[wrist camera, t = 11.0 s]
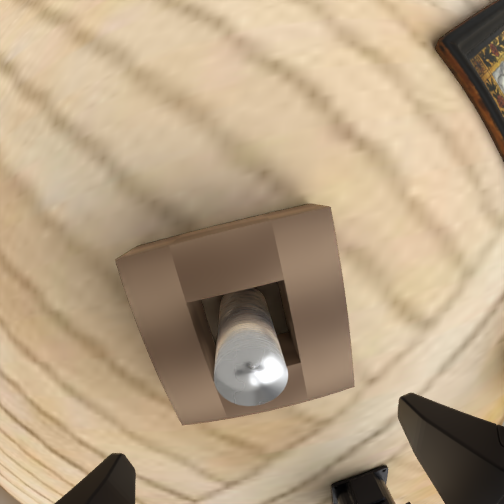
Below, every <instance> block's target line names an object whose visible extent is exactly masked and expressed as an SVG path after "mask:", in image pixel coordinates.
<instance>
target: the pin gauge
mask: <svg viewBox="0 0 504 504" xmlns="http://www.w3.org/2000/svg"><path fill="white" fill-rule="evenodd" d="M287 381H288V370H287V367H286V364H285V360H284V357H283V354H282V351H281V348H280V345H279V341H278V338H277V335H276V332H275V329H274V325H273V322H272V319H271V316H270V313H269V309H268V306H267V303H266V300H265V298H264V296H263V294H262V293H261V292H260V291H259V290H257V289H256V288H254V287H253V288H249V289H245V290H240V291H236V292H232V293H228V294H224V296H223V298H222V300H221V303H220V312H219V322H218V333H217V345H216V357H215V369H214V383H215V386H216V389H217V390H218V392H219V393H220V394H221V395H222V396H223V397H224V398H225V399H227V400H228V401H230V402H232V403H235V404H238V405H242V406H257V405H262V404H265V403H267V402H269V401H271V400H273V399H275V398H276V397H277V396H278V395H279V394H280V393H281V392H282V391H283V390H284V388H285V386H286V384H287Z"/></svg>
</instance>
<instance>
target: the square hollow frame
mask: <svg viewBox="0 0 504 504" xmlns="http://www.w3.org/2000/svg"><path fill="white" fill-rule="evenodd" d="M115 261H116V265H117V268H118V271H119V274H120V277H121V280H122V284H123V287H124V290H125V293H126V295H127V298H128V301H129V304H130V307H131V310H132V312H133V315H134V318H135V321H136V323H137V326H138V328H139V331H140V334H141V336H142V339H143V341H144V344H145V346H146V349H147V351H148V353H149V356H150V358H151V361H152V363H153V365H154V367H155V370H156V372H157V374H158V377H159V379H160V381H161V383H162V385H163V387H164V390H165V392H166V394H167V396H168V398H169V400H170V402H171V404H172V406H173V408H174V410H175V412H176V414H177V416H178V418H179V420H180V422H181V424H182V425H189V424H197V423H204V422H211V421H218V420H224V419H230V418H236V417H241V416H246V415H251V414H256V413H261V412H266V411H270V410H274V409H279V408H283V407H287V406H291V405H295V404H299V403H302V402H306V401H310V400H313V399H317V398H320V397H324V396H327V395H330V394H333V393H337V392H340V391H343V390H346V389H349V388H352V387H355V386H354V373H353V361H352V350H351V340H350V330H349V321H348V313H347V305H346V297H345V290H344V283H343V276H342V270H341V263H340V257H339V251H338V245H337V239H336V233H335V228H334V222H333V217H332V212H331V207H329V206H323V205H316V204H306V205H302V206H297V207H293V208H288V209H284V210H279V211H275V212H271V213H266V214H262V215H258V216H254V217H249V218H245V219H241V220H237V221H233V222H229V223H225V224H221V225H217V226H213V227H209V228H205V229H201V230H197V231H193V232H189V233H185V234H181V235H177V236H173V237H170V238H166V239H162V240H158V241H154V242H151V243H147V244H143V245H140V246H137V247H135V248H134V249H132V250H130V251H129V252H127V253H125V254H124V255H122V256H120V257H119V258H117V259H115ZM277 281H278V285H279V290H280V294H281V299H282V303H283V308H284V313H285V317H286V322H287V327H288V332H287V333H283V334H279V335H277V338H278V341H279V345H280V348H281V351H282V354H283V357H284V360H285V364H286V367H287V370H288V381H287V384H286V386H285V388H284V390H283V391H282V392H281V393H280V394H279V395H278V396H277V397H276V398H275V399H273V400H271V401H269V402H267V403H265V404H262V405H257V406H242V405H238V404H235V403H232V402H230V401H228V400H227V399H225V398H224V397H223V396H222V395H221V394H220V393H219V392H218V390H217V389H216V386H215V383H214V369H215V357H216V346H215V343H214V340H213V337H212V334H211V331H210V328H209V324H208V321H207V318H206V315H205V312H204V308H203V305H202V302H201V300H202V299H206V298H210V297H215V296H219V295H223V294H228V293H232V292H236V291H240V290H245V289H249V288H253V287H257V286H261V285H265V284H269V283H273V282H277Z"/></svg>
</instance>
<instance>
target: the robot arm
mask: <svg viewBox="0 0 504 504" xmlns="http://www.w3.org/2000/svg"><path fill="white" fill-rule="evenodd" d="M398 419H399V421H400V423H401V426H402V428H403V430H404V432H405V434H406V436H407V439H408V441H409V443H410V445H411V447H412V449H413V452H414V454H415V455H416V457H417V459H418V461H419V462H420V464H421V465H422V467H423V469H424V470H425V472H426V473H427V475H428V477H429V478H430V480H431V481H432V483H433V485H434V486H435V488H436V489H437V491H438V493H439V494H440V496H441V498H442V499H443V501H444V503H445V504H504V426H501V425H496V424H495V423H492V422H489V421H486V420H483V419H480V418H477V417H474V416H472V415H469V414H466V413H463V412H461V411H458V410H455V409H453V408H450V407H447V406H445V405H442V404H439V403H437V402H434V401H432V400H429V399H427V398H424V397H422V396H419V395H417V394H414V393H408V394H406V395H403V396H401V397H400V398H399V405H398ZM387 475H388V467H387V466H382V467H380V468H377V469H375V470H372V471H369V472H367V473H364V474H361V475H358V476H355V477H352V478H350V479H346V480H343V481H340V482H337V483H334V484H332V485H331V490H332V499H333V504H395V502H394V500H393V498H392V496H391V494H390V492H389V490H388V488H387V486H386V481H387ZM135 479H136V473H135V469H134V467H133V466H132V464H131V463H130V462H129V460H128V459H127V458H126V456H125V455H124V454H122V453H112V454H111V455H109V456H108V457H107V458H106V459H105V460H104V461H103V462H102V463H101V464H99V465H98V466H97V467H96V468H95V469H94V470H93V471H92V472H91V473H89V474H88V475H87V476H86V477H85V478H84V479H83V480H82V481H80V482H79V483H78V484H77V485H76V486H75V487H74V488H72V489H71V490H70V491H69V492H68V493H67V494H65V495H64V496H63V497H62V498H61V499H60V500H58V501H57V502H56V503H55V504H135ZM406 504H411V503H410V502H408V503H406Z"/></svg>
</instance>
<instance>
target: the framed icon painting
mask: <svg viewBox="0 0 504 504" xmlns="http://www.w3.org/2000/svg"><path fill="white" fill-rule="evenodd" d="M435 49H436V51H437V53H438V54H439V55H440V57H441V58H442V59H443V60H444V62H445V63H446V65H447V66H448V67H449V69H450V70H451V71H452V73H453V74H454V76H455V77H456V79H457V80H458V81H459V83H460V84H461V86H462V87H463V89H464V90H465V92H466V93H467V95H468V97H469V98H470V100H471V101H472V103H473V105H474V106H475V108H476V109H477V111H478V113H479V115H480V116H481V118H482V120H483V122H484V124H485V125H486V127H487V129H488V131H489V133H490V135H491V137H492V139H493V141H494V143H495V145H496V147H497V149H498V151H499V153H500V155H501V157H502V159H503V161H504V0H497V1H496V2H494V3H492V4H491V5H489V6H487V7H486V8H484V9H483V10H481V11H479V12H478V13H476V14H475V15H473V16H472V17H470V18H469V19H467V20H466V21H464V22H463V23H461V24H460V25H458V26H457V27H455V28H454V29H452V30H451V31H449V32H448V33H447V34H445V35H444V36H442V37H441V38H440V39H439V40H438V43H437V45H436V47H435Z"/></svg>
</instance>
